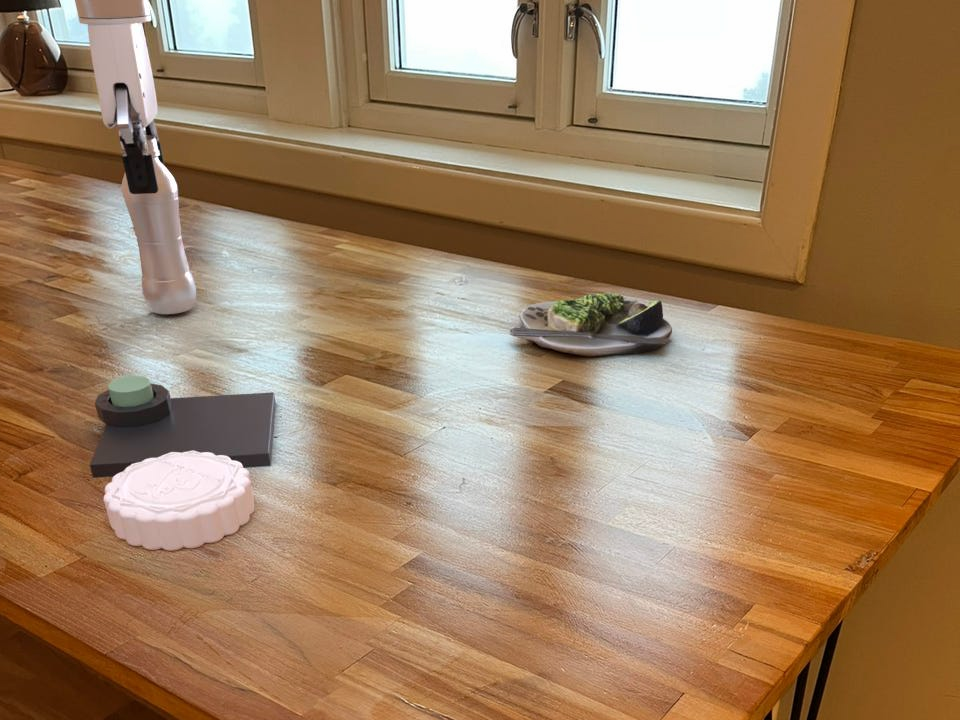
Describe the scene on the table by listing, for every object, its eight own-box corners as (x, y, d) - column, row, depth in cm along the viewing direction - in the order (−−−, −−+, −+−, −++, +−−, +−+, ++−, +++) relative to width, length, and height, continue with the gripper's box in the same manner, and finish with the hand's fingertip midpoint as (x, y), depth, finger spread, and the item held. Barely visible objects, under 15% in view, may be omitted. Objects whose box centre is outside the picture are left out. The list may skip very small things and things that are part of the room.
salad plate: (530, 373, 107) (531, 332, 104) (487, 319, 120) (487, 281, 118) (691, 355, 111) (696, 315, 108) (631, 305, 124) (635, 268, 121)
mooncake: (80, 527, 81) (69, 489, 79) (184, 470, 89) (177, 434, 87) (183, 568, 76) (174, 528, 74) (284, 503, 84) (278, 466, 82)
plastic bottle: (136, 316, 122) (96, 141, 110) (171, 299, 127) (137, 130, 115) (176, 323, 120) (141, 146, 108) (210, 306, 125) (180, 135, 112)
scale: (82, 479, 88) (73, 449, 86) (109, 412, 99) (102, 385, 97) (270, 466, 89) (266, 437, 88) (276, 402, 101) (272, 375, 99)
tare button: (108, 410, 93) (104, 393, 92) (115, 393, 96) (111, 376, 95) (151, 407, 94) (147, 390, 93) (156, 391, 97) (152, 374, 96)
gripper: (91, -1, 110) (127, 170, 121) (59, 13, 96) (103, 205, 107) (159, -2, 110) (188, 168, 121) (136, 12, 97) (172, 202, 108)
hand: (148, 184), depth 114 cm, fingers closed on plastic bottle, 6 cm apart
